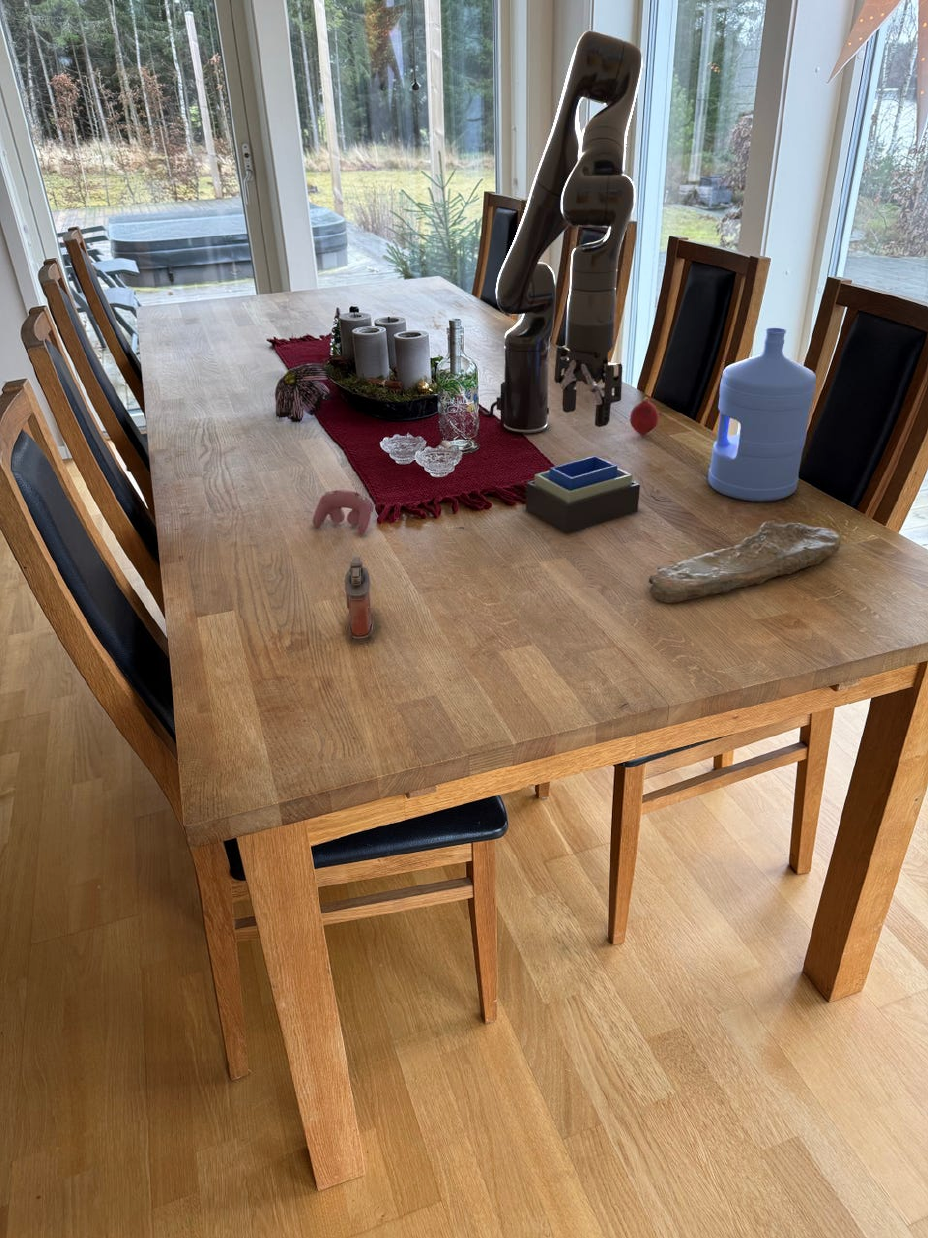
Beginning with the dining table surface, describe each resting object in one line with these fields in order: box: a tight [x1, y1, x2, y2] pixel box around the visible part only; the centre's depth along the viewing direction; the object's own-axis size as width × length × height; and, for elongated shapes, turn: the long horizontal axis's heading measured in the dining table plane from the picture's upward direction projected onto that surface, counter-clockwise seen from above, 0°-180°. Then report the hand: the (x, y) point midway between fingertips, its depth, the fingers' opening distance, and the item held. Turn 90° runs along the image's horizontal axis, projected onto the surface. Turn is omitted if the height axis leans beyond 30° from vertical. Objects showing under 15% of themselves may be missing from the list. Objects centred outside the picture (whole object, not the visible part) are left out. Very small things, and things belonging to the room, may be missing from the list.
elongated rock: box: [647, 519, 842, 604], centre depth 135 cm, size 35×5×10 cm
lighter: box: [344, 556, 375, 644], centre depth 122 cm, size 8×3×10 cm, turn 5°
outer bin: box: [525, 480, 641, 535], centre depth 155 cm, size 16×12×5 cm
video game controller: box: [312, 489, 375, 535], centre depth 152 cm, size 10×5×7 cm, turn 71°
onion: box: [629, 396, 659, 436], centre depth 186 cm, size 6×6×8 cm
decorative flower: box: [274, 362, 332, 423], centre depth 202 cm, size 14×12×15 cm
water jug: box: [707, 327, 817, 502], centre depth 157 cm, size 16×16×28 cm
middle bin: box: [533, 467, 633, 503], centre depth 154 cm, size 14×10×6 cm
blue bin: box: [549, 455, 618, 491], centre depth 154 cm, size 10×6×7 cm, turn 122°
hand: (584, 418), depth 147 cm, fingers open, 8 cm apart
